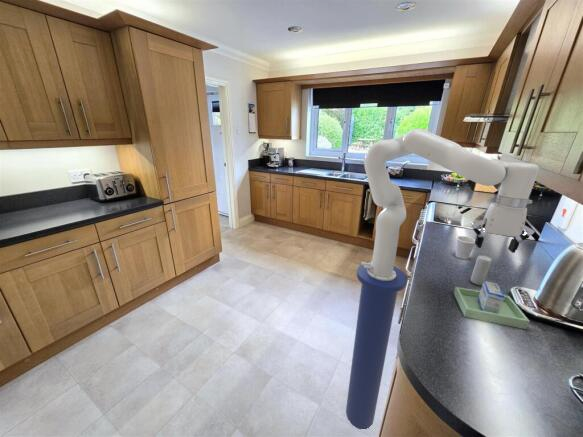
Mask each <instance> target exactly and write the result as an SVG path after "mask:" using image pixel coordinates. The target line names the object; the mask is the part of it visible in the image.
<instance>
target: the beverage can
mask: <svg viewBox="0 0 583 437" xmlns="http://www.w3.org/2000/svg"><path fill="white" fill-rule="evenodd" d="M491 264H492V258H491V257H489V256H487V255H478V256H477V257H476V261H475V263H474V267H473V270H472V274H471V277H470V282H471V283H472V284H474V285H477V286H482V285H483V283H484V281H487V277H488V274H489V271H490V267H491Z"/></svg>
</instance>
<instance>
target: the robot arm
mask: <svg viewBox="0 0 583 437" xmlns="http://www.w3.org/2000/svg"><path fill="white" fill-rule="evenodd" d="M412 154H414V155H417V156H419V157H421V158H423V159H425V160H428V161H429V162H432V163H435V164H436V165H438V166H440V167H442V168H444V169H447V170H448V171H451V172H453V173H454V174H457V175H458V176H461V177H463V178H465V179H466V180H469V181H472V182H473V183H476V184H478V185H481V186H485V187H491V186H492V187H493V186H496V185H498V184H500V187H499V189H498V192H497V195H496V199H495V202H491V203H490V205H489V207H488V208H487V210H486V212H485V215H484V217H483V219H480V220H475V221H472V222H471V223H470V224H471V228H472V231H473V232H474V233H475V234H476V236H475V246H476V247H477V248H478V249H481V248H482V246H483V243H484V241H485V240H484V239H485V236H486V235H488V234H491V235H498V236H499V235H500V236H505V237H506V236H507V237H512V239H510V241H509V245H508V247H507V249H508V250H509V252H511V253H512V254H515V253H516V251H517V250H518V249H519V246H520V244H521V243H523V241H526V240H527V239H529V238H530V237H531V236H532V235H533V234H535V230H534V229H532V228H530V227H529V226H527V225H526V220H527V214H528V208H527V205H532V204H533V200H532V199H530V195H531V193H532V190H533V187H534V185H535V182H536V180H537V176H538V174H539V170H540V166H539V165H537V164H536V163H532V162H531V163H530V162H520V161H519V162H510V161H503V160H498V159H489V158H486V157H483V156H481V155H479V154H477V153H474V152H471V151H470V150H467V149H466V148H464V147H463V146H461V145H460V144H459V143H457V142H455V141H453V140H450V139H447V138H445V137H442V136H440V135H438V134H434V133H432V132H430V131H429V130H427V129H424V128H417V127H416V128H412V129H410V130H409V131H408V132H406V133H405V134H402V135H399V136H397V137H394V138H391V139H382V140H381V139H380V140H378V141H376V142H374V143H373V144H372V145H371V146H370V147H369V148H368V150H367V151H366V153H365V155H364V159H363V166H364V171H365V174H366V178H367V182H368V186H369V189H370V190H369V191H370V194H371V197H372V201H373V203H374V204H375V205H376V206H378V207H381V208H382V209H383V210H382V211H380V212H379V214H378V215H377V217H376V220H375V236H374V245H373V250H372V251H373V252H372V258H371V260H370V261H368V262H369V263H366V262H367V261H361V264H362V265H361V264H360V265H361V266H364V268H365V269H368V270H367V272H368V274H369V275H370V276H371V277H373V278H374V279H377V280H380V281H391V280H394V279H395V278H396V273H395V271H394V270H393V268H394V266H395V261H396V256H397V251H398V246H399V239H400V238H399V236H400V229H401V226H402V224H403V223H404V222H405V221H406V220H407V208H406V205H405V201H404V197H403V194H402V190H401V188H400V186H399V184H397V183H396V182H393V181H391V179H390V173H389V171H388V169H387V165H386V163H387V162H389V161H392V160H396V159H399V158H402V157H405V156H410V155H412ZM479 226H480V227H481V228H480V229H479ZM523 230H524V231H523ZM523 232H524V233H523ZM370 262H371V263H370Z"/></svg>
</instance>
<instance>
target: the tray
mask: <svg viewBox="0 0 583 437" xmlns="http://www.w3.org/2000/svg"><path fill="white" fill-rule="evenodd" d="M480 291H481V290H476V289H471V288H464V287H459V286H455V288H454V291H453V296H454V297H455V299H456V302H457V304H458V307H459V308H460V310H461V312H462V315H463V316H464V317H465V318H469V319H474V320H479V321H483V322H484V321H485V322H490V323H494V324H498V325H503V326H507V327H513V328H514V327H515V328H519V329H523V330H527V329H528V326H529V324H530V320H529V318H528V317H527V316H526V315H525V313H524V312H523V311H522V310H521V309H520V307H519V306H518V304H517V303H516V302H515V301H514V299H512V298H511V296H510V295H505V294H503V295H504V300H503V302H502V305H501V308H500V310H499V313H498V314H496V313H491V312H486V311H482V310H481V307H480V305H479V302H478V297H479V294H480Z"/></svg>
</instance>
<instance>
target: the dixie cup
mask: <svg viewBox="0 0 583 437" xmlns="http://www.w3.org/2000/svg"><path fill="white" fill-rule="evenodd" d="M475 240H476V238H473V237H471V236H465V235H458V236H456V245H455V257H456V258H458V259H461V260H469V258H470V256H471V253H472V252H473V249H474V248H475V246H476V244H475Z"/></svg>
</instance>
